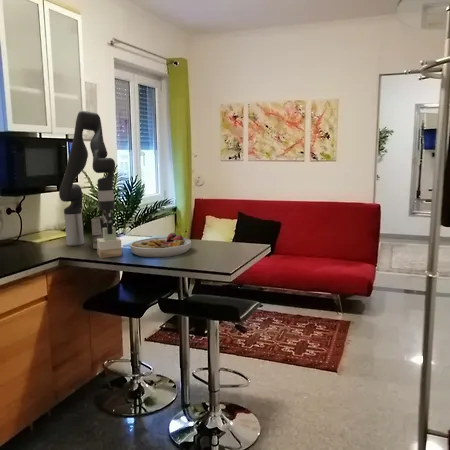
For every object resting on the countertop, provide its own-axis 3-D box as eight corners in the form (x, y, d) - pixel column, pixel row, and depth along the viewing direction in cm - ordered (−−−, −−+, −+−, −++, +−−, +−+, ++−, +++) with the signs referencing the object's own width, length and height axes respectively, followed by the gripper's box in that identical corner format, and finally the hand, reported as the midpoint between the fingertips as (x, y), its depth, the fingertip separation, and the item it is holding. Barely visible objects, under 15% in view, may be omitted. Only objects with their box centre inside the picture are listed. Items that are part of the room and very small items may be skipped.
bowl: (174, 260, 212) (174, 243, 211) (118, 257, 223) (117, 241, 221) (200, 247, 240) (200, 232, 239) (149, 245, 250) (149, 231, 249)
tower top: (97, 246, 230) (96, 238, 229) (117, 244, 234) (117, 236, 233) (100, 250, 221) (99, 242, 220) (121, 248, 225) (121, 239, 224)
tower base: (97, 254, 230) (97, 246, 230) (117, 252, 234) (117, 244, 234) (100, 258, 221) (100, 250, 221) (121, 256, 225) (121, 248, 224)
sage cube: (103, 238, 229) (102, 227, 228) (114, 237, 231) (113, 226, 230) (104, 240, 224) (104, 229, 223) (116, 239, 226) (115, 228, 225)
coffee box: (104, 248, 243) (102, 218, 240) (92, 248, 244) (90, 218, 242) (111, 245, 252) (109, 216, 249) (100, 245, 253) (98, 216, 251)
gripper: (116, 200, 219) (119, 234, 221) (111, 198, 232) (113, 230, 234) (100, 201, 216) (103, 235, 218) (96, 199, 229) (98, 231, 231)
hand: (108, 232), depth 226 cm, fingers open, 8 cm apart
